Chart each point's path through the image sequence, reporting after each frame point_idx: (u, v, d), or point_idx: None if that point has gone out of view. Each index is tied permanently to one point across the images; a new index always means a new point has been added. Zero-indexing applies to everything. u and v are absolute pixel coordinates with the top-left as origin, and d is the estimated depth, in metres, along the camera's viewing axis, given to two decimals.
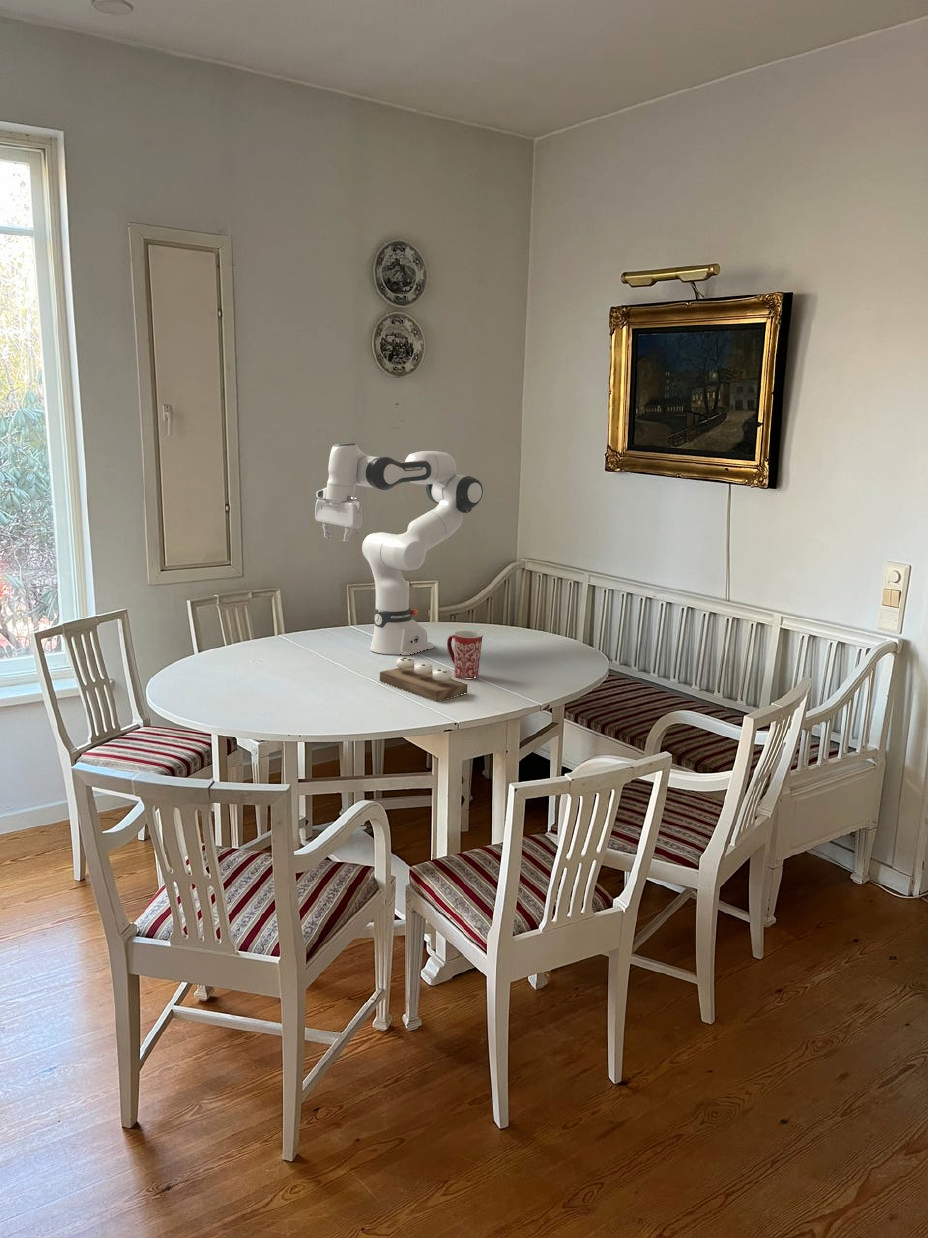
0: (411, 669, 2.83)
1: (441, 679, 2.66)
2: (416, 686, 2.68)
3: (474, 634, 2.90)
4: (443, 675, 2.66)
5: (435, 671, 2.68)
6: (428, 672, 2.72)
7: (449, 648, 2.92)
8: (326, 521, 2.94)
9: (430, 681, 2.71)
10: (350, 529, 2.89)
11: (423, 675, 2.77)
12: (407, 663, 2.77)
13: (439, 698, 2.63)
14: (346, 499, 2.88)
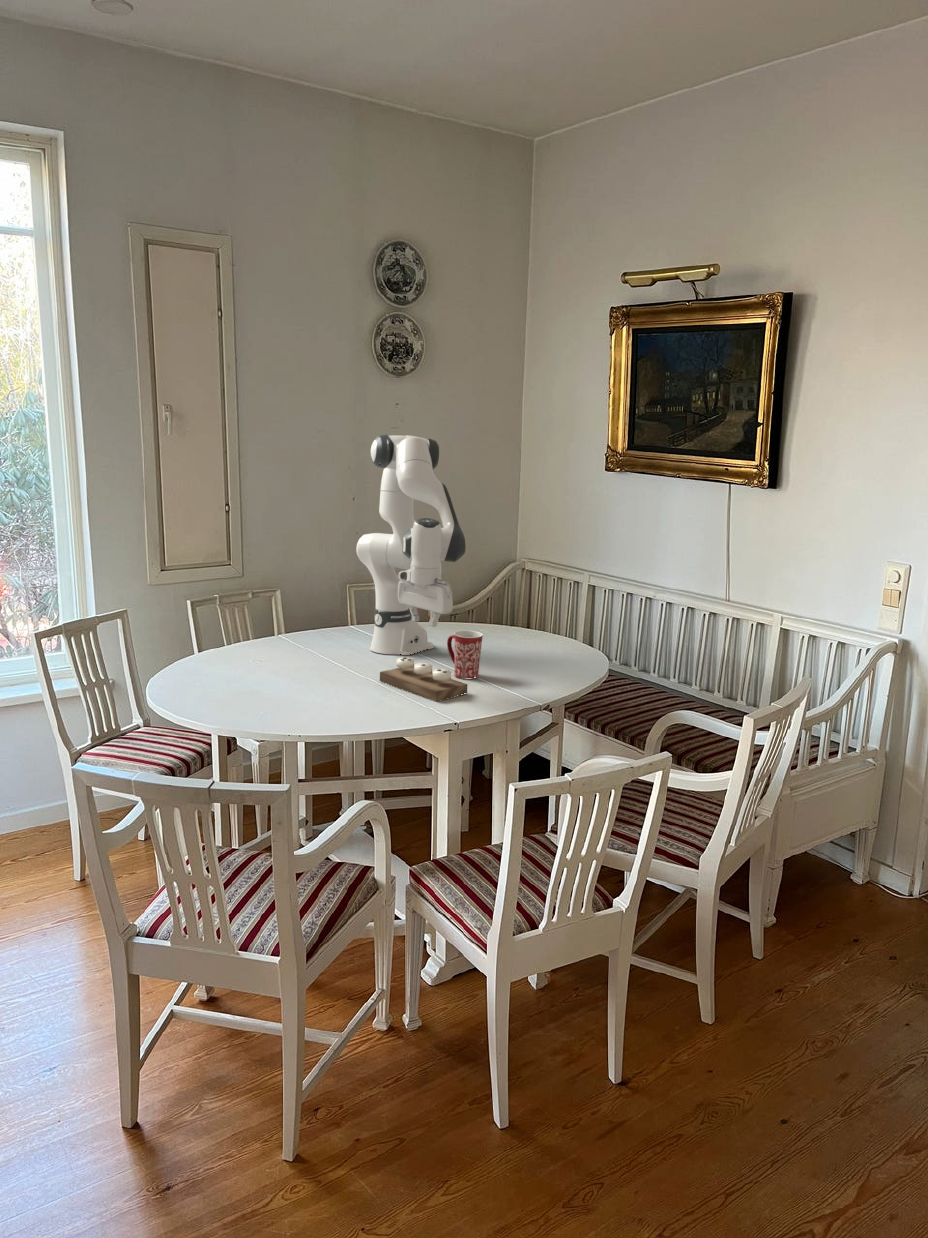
0: (411, 669, 2.83)
1: (441, 679, 2.66)
2: (416, 686, 2.68)
3: (474, 634, 2.90)
4: (443, 675, 2.66)
5: (435, 671, 2.68)
6: (428, 672, 2.72)
7: (449, 648, 2.92)
8: (412, 604, 2.71)
9: (430, 681, 2.71)
10: (438, 613, 2.67)
11: (423, 675, 2.77)
12: (407, 663, 2.77)
13: (439, 698, 2.63)
14: (433, 582, 2.65)
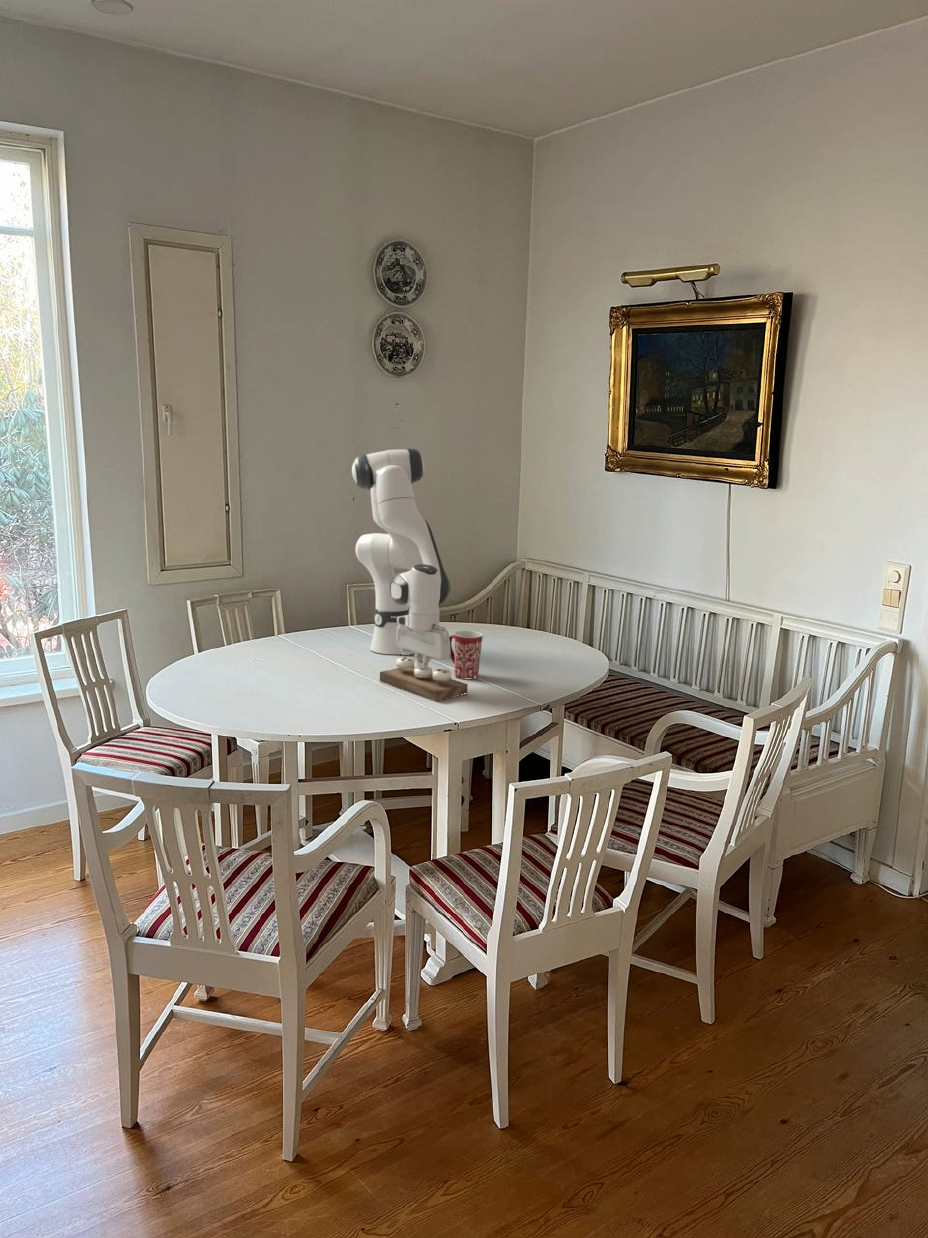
0: (411, 669, 2.83)
1: (441, 679, 2.66)
2: (416, 686, 2.68)
3: (474, 634, 2.90)
4: (443, 675, 2.66)
5: (435, 671, 2.68)
6: (428, 676, 2.72)
7: None
8: (410, 649, 2.74)
9: (430, 681, 2.71)
10: (429, 656, 2.71)
11: None
12: (407, 663, 2.77)
13: (439, 698, 2.63)
14: (431, 628, 2.68)
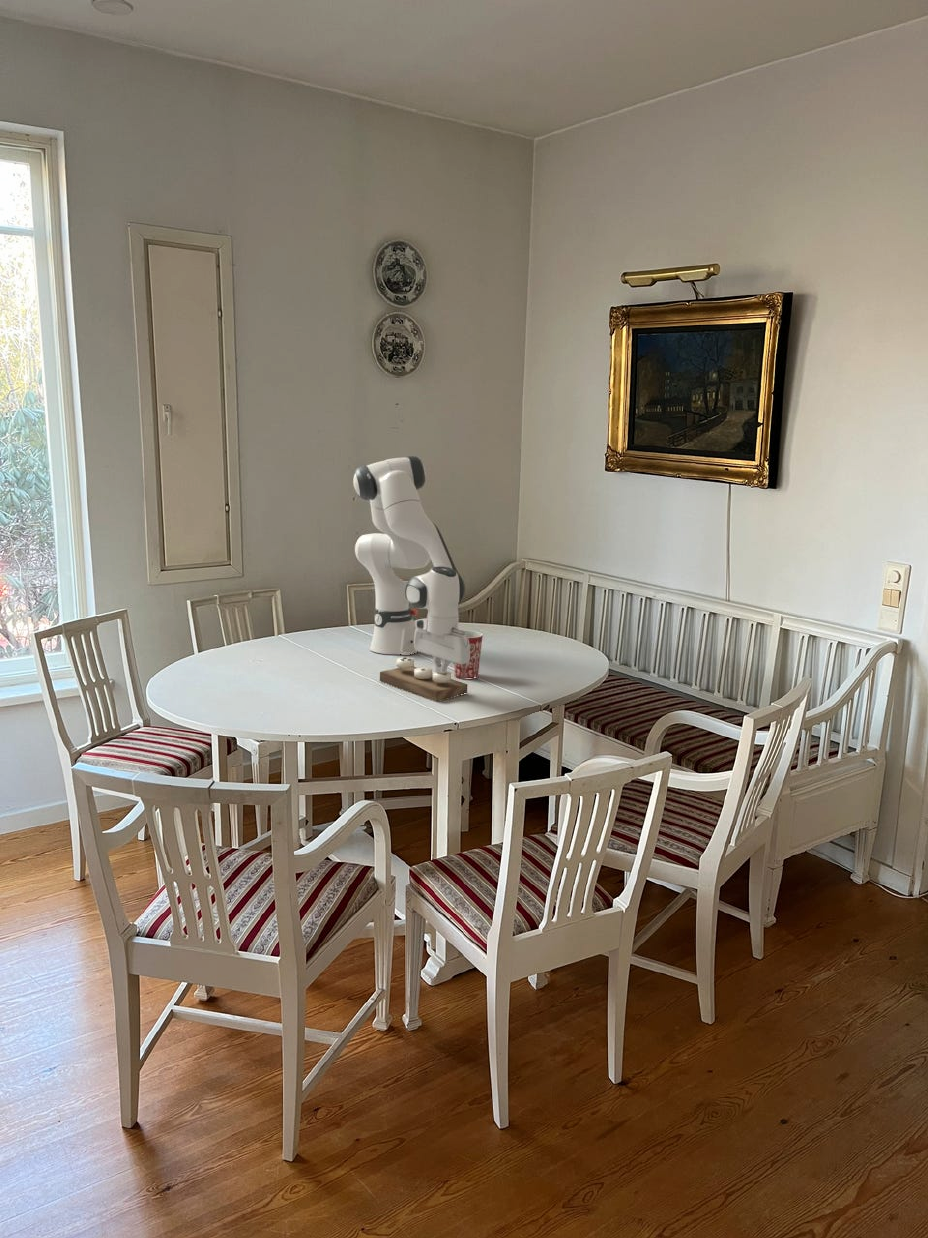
0: (411, 669, 2.83)
1: (441, 681, 2.66)
2: (416, 686, 2.68)
3: (474, 634, 2.90)
4: (443, 677, 2.66)
5: (435, 673, 2.68)
6: (428, 677, 2.73)
7: None
8: (428, 653, 2.68)
9: (430, 681, 2.71)
10: (448, 661, 2.66)
11: None
12: (407, 663, 2.77)
13: (439, 698, 2.63)
14: (450, 631, 2.62)
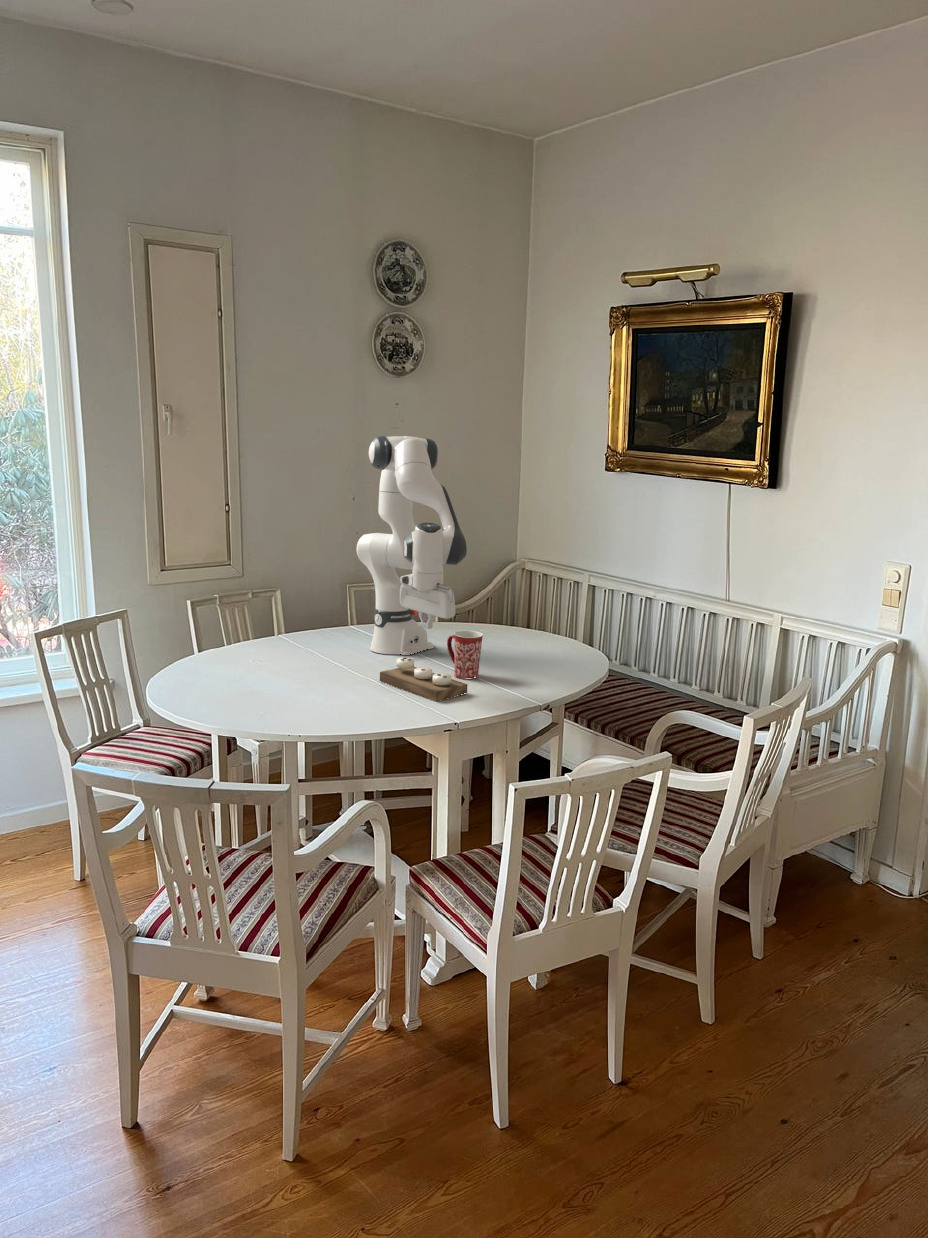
0: (411, 669, 2.83)
1: (441, 684, 2.66)
2: (416, 686, 2.68)
3: (474, 634, 2.90)
4: (443, 680, 2.66)
5: (435, 676, 2.68)
6: (428, 677, 2.73)
7: (449, 648, 2.92)
8: (414, 608, 2.72)
9: (430, 681, 2.71)
10: (433, 616, 2.69)
11: None
12: (407, 663, 2.77)
13: (439, 698, 2.63)
14: (435, 587, 2.65)
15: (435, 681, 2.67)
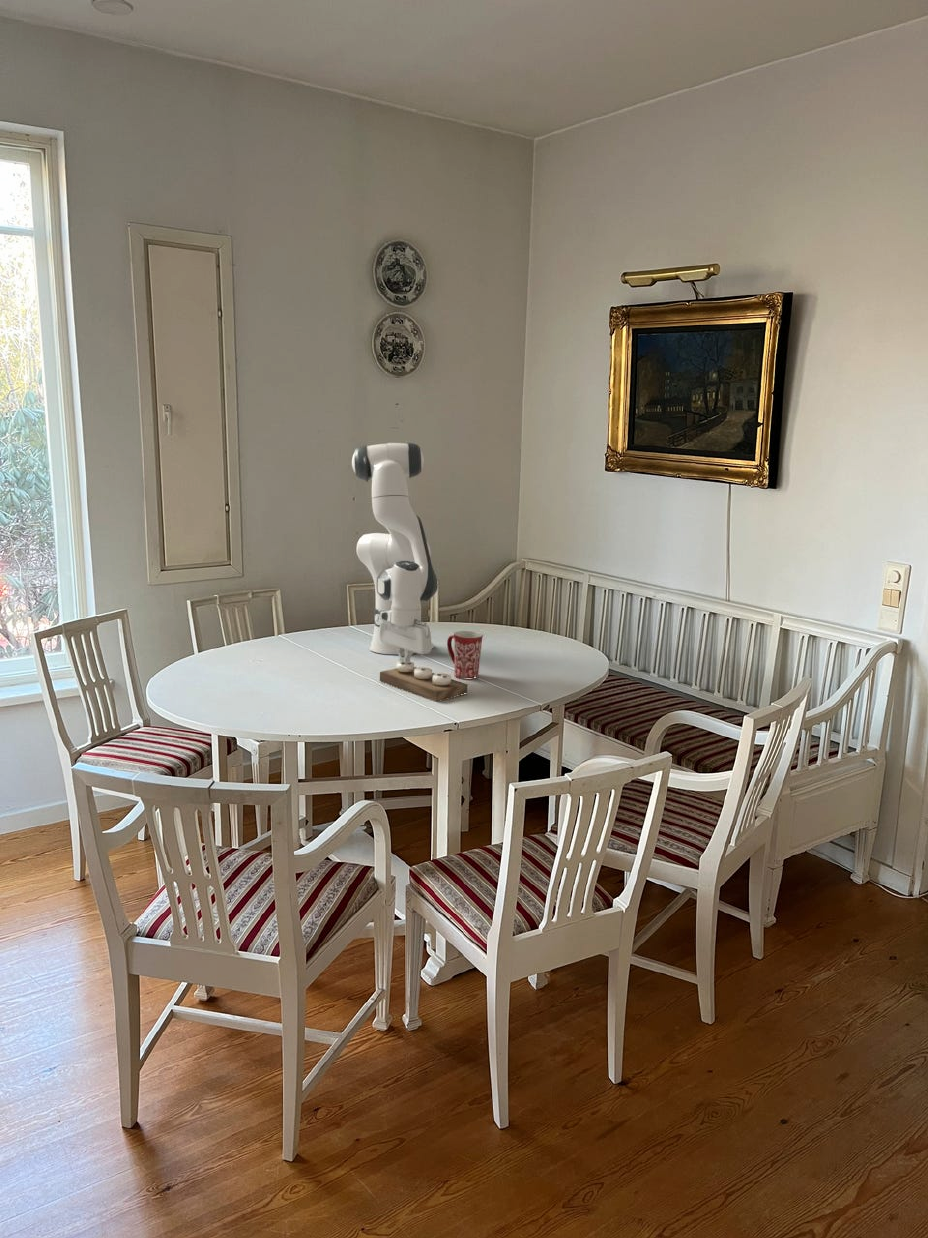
0: None
1: (441, 684, 2.66)
2: (416, 686, 2.68)
3: (474, 634, 2.90)
4: (443, 680, 2.66)
5: (435, 676, 2.68)
6: (428, 677, 2.73)
7: (449, 648, 2.92)
8: (392, 644, 2.80)
9: (430, 681, 2.71)
10: (411, 651, 2.77)
11: None
12: (407, 667, 2.77)
13: (439, 698, 2.63)
14: (413, 623, 2.73)
15: (435, 681, 2.67)
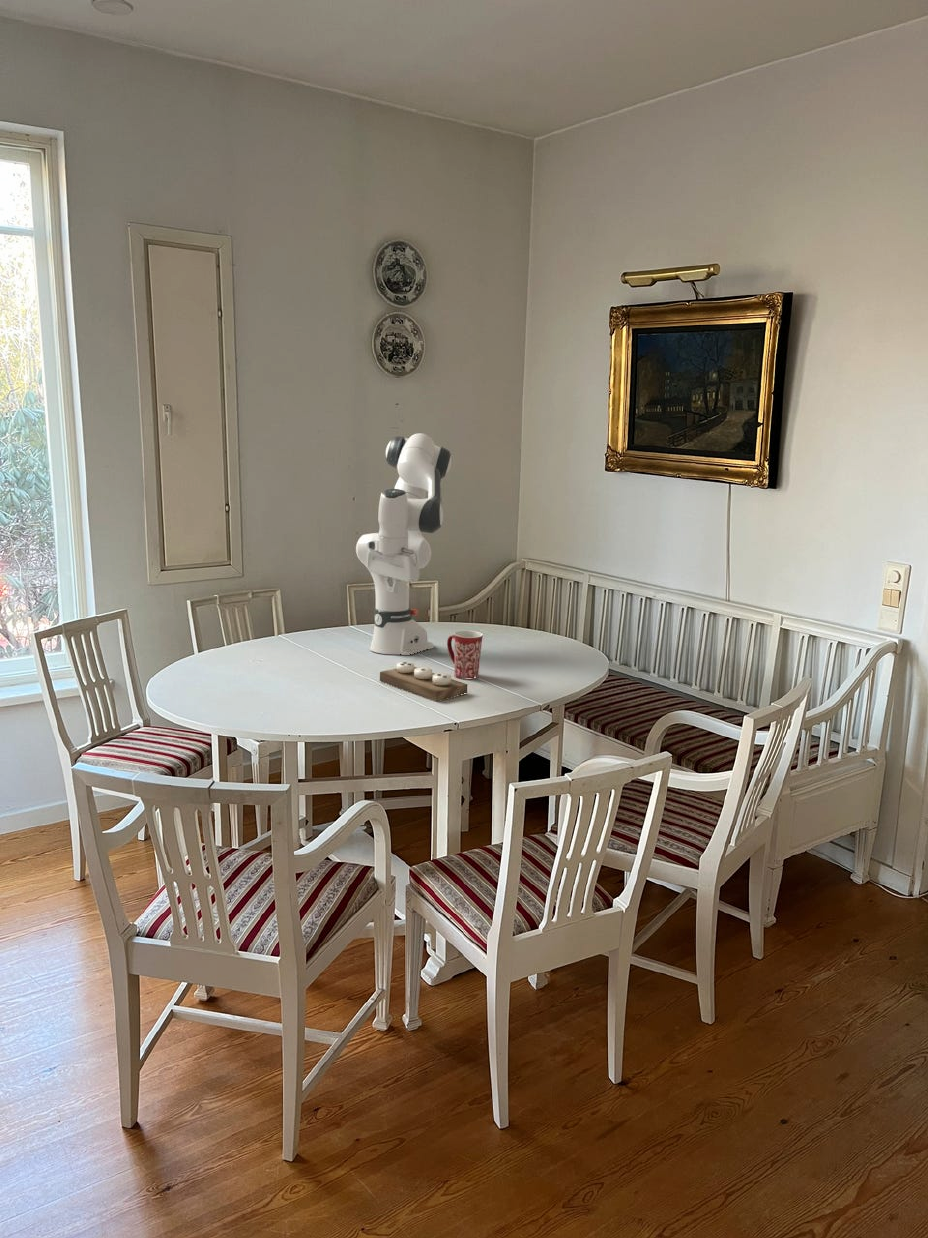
0: None
1: (441, 684, 2.66)
2: (416, 686, 2.68)
3: (474, 634, 2.90)
4: (443, 680, 2.66)
5: (435, 676, 2.68)
6: (428, 677, 2.73)
7: (449, 648, 2.92)
8: (380, 573, 2.79)
9: (430, 681, 2.71)
10: (399, 580, 2.77)
11: None
12: (407, 668, 2.77)
13: (439, 698, 2.63)
14: (400, 551, 2.72)
15: (435, 681, 2.67)
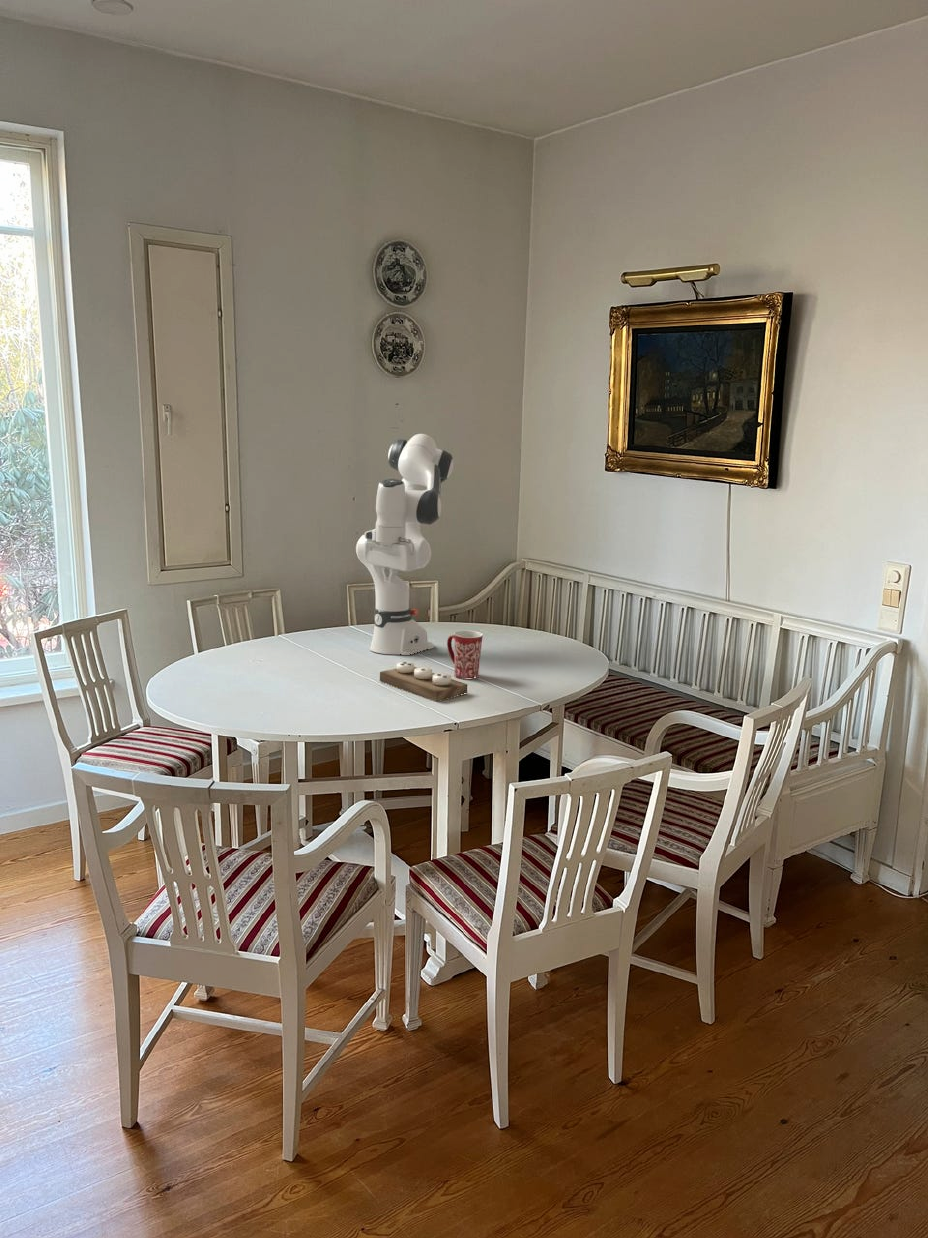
0: None
1: (441, 684, 2.66)
2: (416, 686, 2.68)
3: (474, 634, 2.90)
4: (443, 680, 2.66)
5: (435, 676, 2.68)
6: (428, 677, 2.73)
7: (449, 648, 2.92)
8: (377, 563, 2.79)
9: (430, 681, 2.71)
10: (396, 570, 2.76)
11: None
12: (407, 668, 2.77)
13: (439, 698, 2.63)
14: (397, 541, 2.73)
15: (435, 681, 2.67)
